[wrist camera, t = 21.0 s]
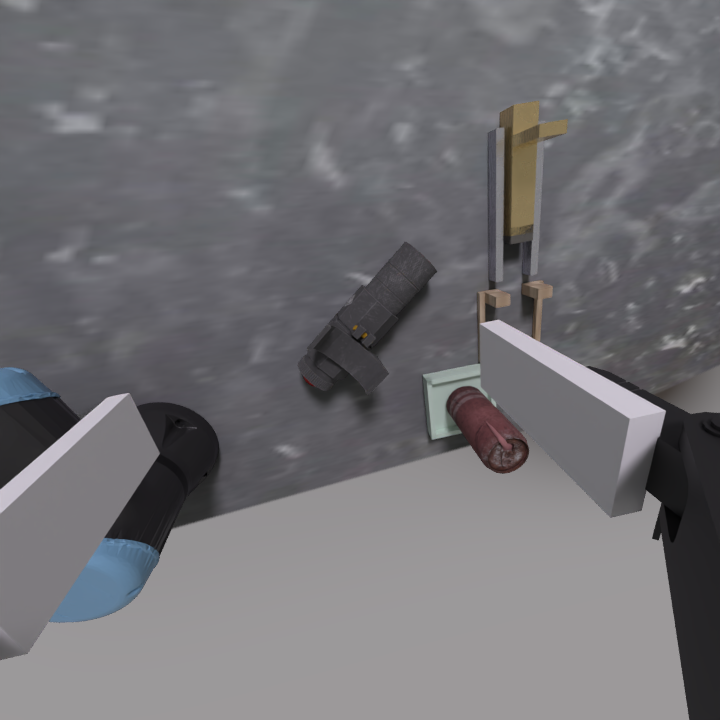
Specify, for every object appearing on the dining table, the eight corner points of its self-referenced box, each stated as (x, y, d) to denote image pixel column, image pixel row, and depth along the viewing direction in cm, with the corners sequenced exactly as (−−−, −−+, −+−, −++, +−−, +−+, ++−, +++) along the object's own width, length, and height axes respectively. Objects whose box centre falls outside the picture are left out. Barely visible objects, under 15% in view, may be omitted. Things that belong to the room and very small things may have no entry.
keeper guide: (488, 279, 48) (495, 282, 46) (488, 132, 41) (496, 128, 39) (528, 272, 48) (537, 274, 47) (535, 124, 41) (545, 120, 39)
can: (468, 376, 53) (518, 426, 40) (487, 402, 55) (539, 457, 42) (437, 398, 54) (475, 454, 41) (457, 423, 56) (499, 484, 43)
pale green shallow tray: (427, 431, 57) (432, 439, 55) (422, 374, 53) (426, 381, 51) (489, 418, 58) (496, 425, 56) (489, 361, 53) (496, 366, 51)
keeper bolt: (499, 242, 46) (533, 247, 39) (500, 112, 40) (541, 88, 33) (519, 238, 46) (558, 242, 39) (523, 108, 40) (570, 84, 33)
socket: (478, 360, 53) (490, 371, 49) (477, 292, 49) (490, 298, 45) (536, 348, 53) (552, 358, 50) (540, 280, 49) (558, 285, 45)
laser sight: (437, 278, 47) (467, 292, 38) (334, 389, 52) (338, 425, 43) (388, 229, 44) (408, 231, 35) (283, 352, 49) (276, 383, 40)
